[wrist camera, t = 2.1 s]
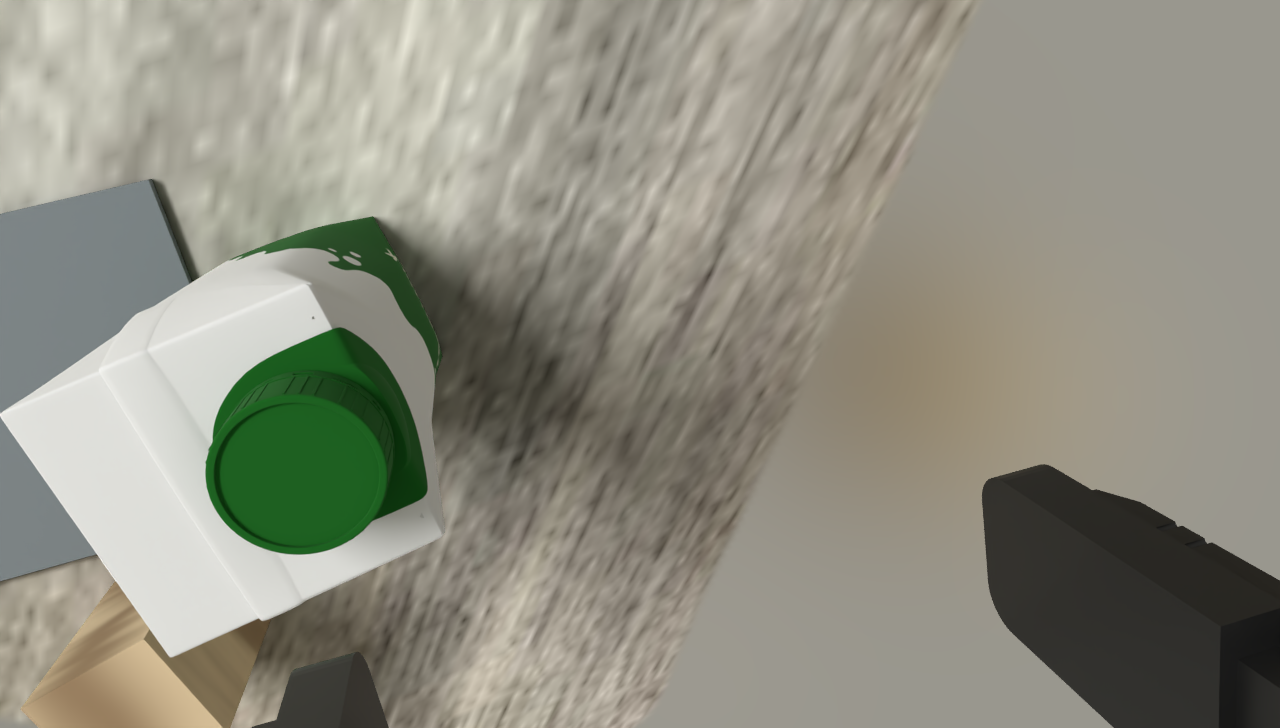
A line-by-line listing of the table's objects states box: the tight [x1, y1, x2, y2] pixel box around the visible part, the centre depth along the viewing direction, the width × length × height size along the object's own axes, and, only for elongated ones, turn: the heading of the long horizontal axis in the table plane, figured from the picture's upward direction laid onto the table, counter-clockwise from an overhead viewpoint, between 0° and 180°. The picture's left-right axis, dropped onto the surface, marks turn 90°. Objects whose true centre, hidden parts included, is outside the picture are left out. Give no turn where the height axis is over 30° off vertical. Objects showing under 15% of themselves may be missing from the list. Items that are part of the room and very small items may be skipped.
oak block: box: [21, 582, 271, 728], centre depth 37 cm, size 5×5×9 cm
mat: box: [0, 179, 192, 581], centre depth 37 cm, size 16×15×1 cm
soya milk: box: [0, 217, 445, 658], centre depth 29 cm, size 9×9×20 cm
